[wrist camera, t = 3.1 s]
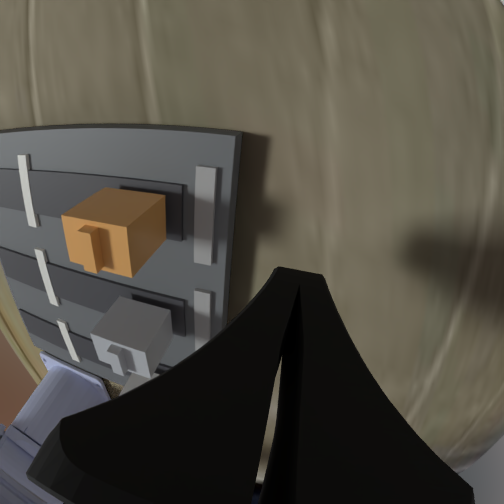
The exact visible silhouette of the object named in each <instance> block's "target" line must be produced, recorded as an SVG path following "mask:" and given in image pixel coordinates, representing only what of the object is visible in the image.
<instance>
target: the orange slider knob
mask: <svg viewBox="0 0 504 504" xmlns="http://www.w3.org/2000/svg"><path fill="white" fill-rule="evenodd" d="M61 217H62V223H63V229H64V234H65V239H66V244H67V249H68V254H69V258H70V261H71V262H74V263H78V264H81V265H83V266H84V270H85V271H89V272H92V273H96V274H97V273H98V272H99V271H100V270H103V271H107V272H111V273H115V274H118V275H122V276H126V277H130V278H133V277H134V275H135V274H136V273H137V272H138V271H139V270H140V268H141V267H142V266H143V265H144V264H145V263H146V262H147V260H148V259H149V258H150V257H151V256H152V255H153V254H154V252H155V251H156V250H157V249H158V248H159V247H160V246H161V245H162V243H163V242H164V241H165V240H166V210H165V195H161V194H154V193H146V192H139V191H131V190H123V189H115V188H107V187H105V188H103V189H101V190H100V191H98V192H97V193H95V194H93V195H92V196H90V197H88V198H87V199H85V200H84V201H82V202H81V203H79V204H77V205H76V206H74V207H73V208H71V209H70V210H68V211H67V212H65V213H64V214H62V215H61Z"/></svg>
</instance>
